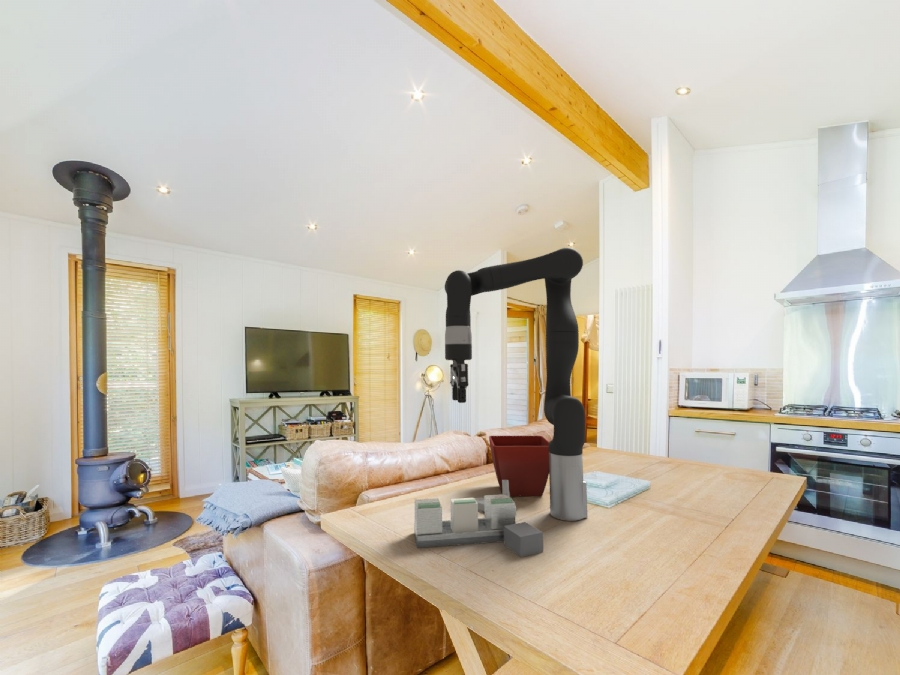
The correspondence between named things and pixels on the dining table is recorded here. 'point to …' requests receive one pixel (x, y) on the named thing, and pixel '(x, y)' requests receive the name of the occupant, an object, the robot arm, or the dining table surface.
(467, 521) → the block
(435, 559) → the dining table surface
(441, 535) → the rail board
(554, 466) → the robot arm
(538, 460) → the plant pot
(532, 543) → the block
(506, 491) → the electronic device
